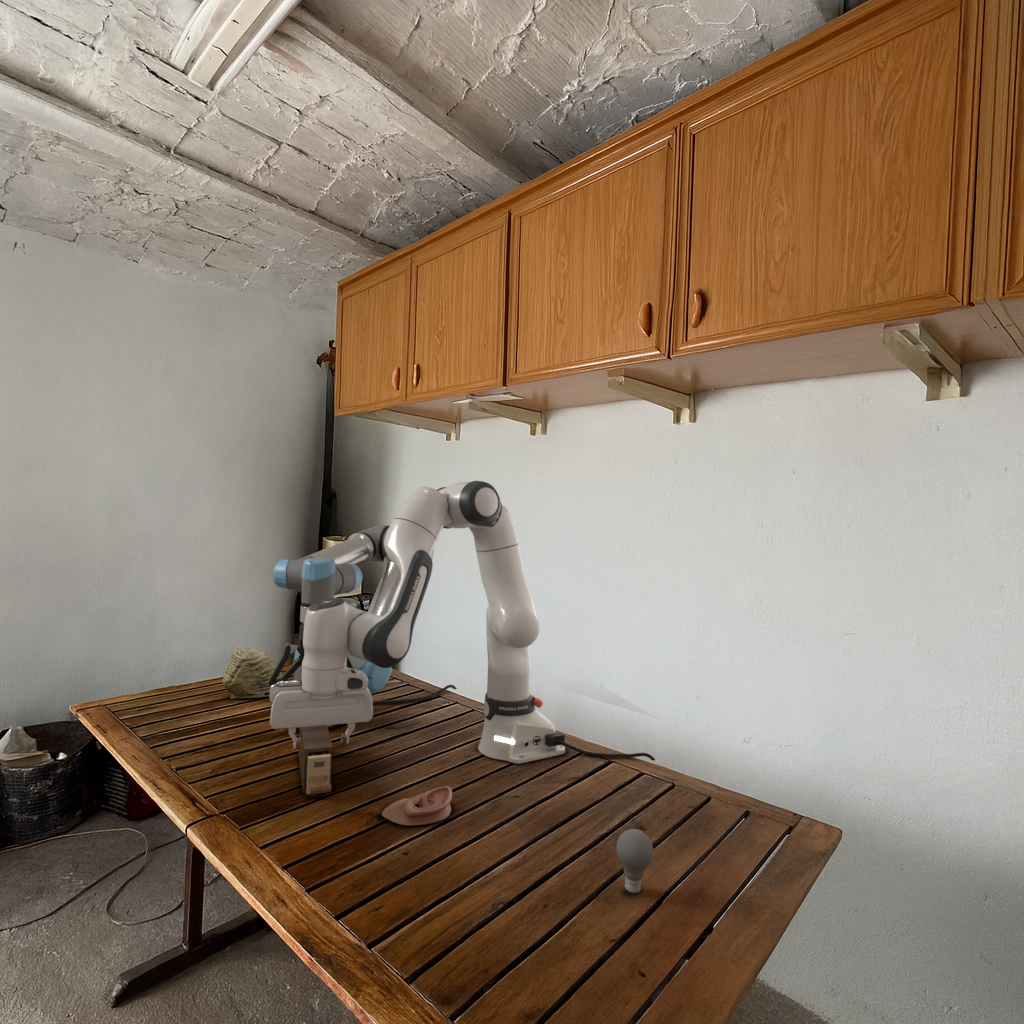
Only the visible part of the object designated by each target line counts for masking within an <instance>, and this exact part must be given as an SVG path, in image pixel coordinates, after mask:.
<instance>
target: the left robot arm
mask: <svg viewBox="0 0 1024 1024" xmlns="http://www.w3.org/2000/svg"><path fill="white" fill-rule="evenodd" d="M389 527H390V525H385V524H383V525H377V526H373V527H370V528H365V529H363V530H360V531H357V532H354V533H352V534H350V536H349V537H347V539H346V540H344V541H341V542H338V543H336V544H334V545H332V546H328V547H326V548H324V549H321V550H319V551H317V552H313V553H312V554H308V555H306V556H304V557H301V558H298V559H291V558H288V559H280V560H279V561H278V562H277V563H276V564H275V565H274V567H273V571H272V575H273V576H272V577H273V578H272V579H273V583H274V584H275V586H277V587H278V588H280V589H287V590H293V591H294V590H297V591H301V601H300V613H299V614H300V615H299V621H300V623H301V624H299V636H298V637H299V638H298V642H297V644H292V643H290V642H286V643H285V645H284V650H283V653H282V655H281V656H280V658H279V661H278V662H277V664H276V667H275V669H274V671H273V673H272V675H271V676H270V678H269V684H270V685H274V684H276V683H278V682H279V681H289V679H290V678H291V677H292V676H293V680H301V677H302V662H303V659H304V647H303V631H304V622H305V617H306V613H307V610H308V608H309V606H310V605H311V604H313V603H314V602H316V601H319V600H322V599H327V598H328V599H329V598H335V596H338V595H343V594H348V593H351V592H353V591H356V590H357V589H358V588H360V586H361V584H362V582H363V573H362V570H361V568H360V567H359V566H358V565H357V564H366V563H368V562H380V563H384V565H385V568H384V571H383V573H382V576H381V577H380V581H379V583H378V585H377V588H376V590H375V593H374V595H373V598H372V600H371V602H370V604H369V607H368V610H367V612H370V613H373V614H376V615H380V616H383V615H385V614H386V613H387V612H388V611H389V609H390V607H391V604H392V601H393V599H394V596H395V593H396V591H397V588H398V585H399V583H400V579H401V572H400V569H399V568H398V567H397V566H396V565H395V564H394V563H393V562H392V561H391V560H390V559H389V557H388V556H387V554H386V551H385V547H384V540H385V536H386V533H387V531H388V529H389ZM434 547H435V546H434ZM434 547H433V550H432V554H431V559H432V560H433V559H434V553H435V552H434V551H435V550H434ZM294 653H295V654H294ZM292 654H294V659H293V660H294V662H292V664H290V666H289V667H288V668H287V669H286V670H285V672H283V673H282V672H281V671H282V670H283V668H284V667H285V665H286V663H287V661H288V660H289V657H290V655H292ZM347 667H348V668H352V669H356V670H360V671H363V672H364V673H365V674H366V676H367V678H368V689H369V691H370V693H371V695H372V694H377V693H379V692H380V691H382V690H383V689H384V688H385V686H386V685H387V684H388V682H389V680H390V678H391V675H392V673H393V667H390V668H381V667H378V666H377V665H375V664H373V663H371V662H369V661H367V660H364V659H361V658H358V657H355V656H349V657H348V658H347ZM280 672H281V673H282V676H281V677H280V678H279V679H277V677H278V676H279V674H280ZM277 686H278V685H277ZM277 686H276V687H277ZM450 688H452V689H453V690H457V689H458V688H457V687H456V686H455V685H453V684H448V685H446V686H444V687H443V688H441V689H439V690H437V691H434V692H432V693H430V694H428V695H426V696H425V695H424V696H421V697H415V698H414V697H413V698H404V699H389V700H387V699H385V700H384V699H383V700H375V701H372V703H373V706H374V705H380V704H381V705H382V704H400V703H401V704H402V703H403V704H404V703H412V702H420V701H425V700H428V699H431V698H432V697H433V698H434V696H437V695H439V694H441V693H443V692H444V691H446V690H447V689H450ZM340 725H341V724H334V725H327V727H328V731H329V730H332V729H335V728H337V727H339V726H340ZM299 728H300V727H297V728H296V732H299Z"/></svg>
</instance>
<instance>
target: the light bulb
mask: <svg viewBox="0 0 1024 1024" xmlns="http://www.w3.org/2000/svg"><path fill="white" fill-rule="evenodd" d="M615 849H616V854H617V857H618V859H619V861H620V863H621V865H622V867H623V873H624V874H623V875H624V876H625V878H624V888H625V890H627V891H628V892H630V893H634V894H635V893H639V892H640V891H641V889H642V887H641V886H642V879H643V877H644V875H645V871H646V868H647V867H648V866H649V864H650V863H651V861H652V859H653V855H654V847H653V843H652V841H651V838H649V836H648V835H647V834H646V833H645V832H643V831H642V830H641V829H636V828H629V829H627V830H625V831H623V832H622V833H621V834H620V835H619V837H618V839H617V841H616V847H615Z"/></svg>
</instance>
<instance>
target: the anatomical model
mask: <svg viewBox="0 0 1024 1024" xmlns="http://www.w3.org/2000/svg"><path fill="white" fill-rule="evenodd" d="M452 799H453V789H452V787H450V786H448V785H445V786H440V787H436V788H432V789H430V790H426V791H424V792H422V793H419V794H416V795H415V796H412V797H408V798H402V799H399V800H396V801H395V802H393V803H391V804H390V805H388V806H387V807H386V808H384V809H383V810H382V812H381V816H382V817H383V818H384V819H386V820H388V821H390V822H392V823H395V824H397V825H400V826H406V827H407V826H408V827H409V826H421V825H428V824H434V823H438V822H440V821H443V820H445V819H446V818H448V817H449V816H450V815H451V812H452V807H451V802H452Z"/></svg>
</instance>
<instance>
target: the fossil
mask: <svg viewBox="0 0 1024 1024" xmlns="http://www.w3.org/2000/svg"><path fill="white" fill-rule="evenodd" d="M276 666H277V664H276V663H275V662H274V660H273V659H272V658H271V657H270V656H269V655H268V654H267V653H266V652H265V650H264V649H263V648H260V647H258V648H251V647H247V646H246V647H245V646H238V647H237V648H236V649H235V650H233V651H232V653H231V656H230V657H229V659H228V660H227V663H226V666H225V668H224V671H223V675H222V676H223V677H222V685H223V687H224V688H225V690H226V691H228V693H229V698H230V699H250V698H264V697H269V691H270V688H271V687H272V686H273V685H270V684H269V678H270V676H271V675H272V673H273V671H274V669H275V667H276ZM282 675H283V673H282V672H280V674H279V676H278V677H277V679H279V678H280V677H281V676H282ZM275 687H276V686H275Z"/></svg>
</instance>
